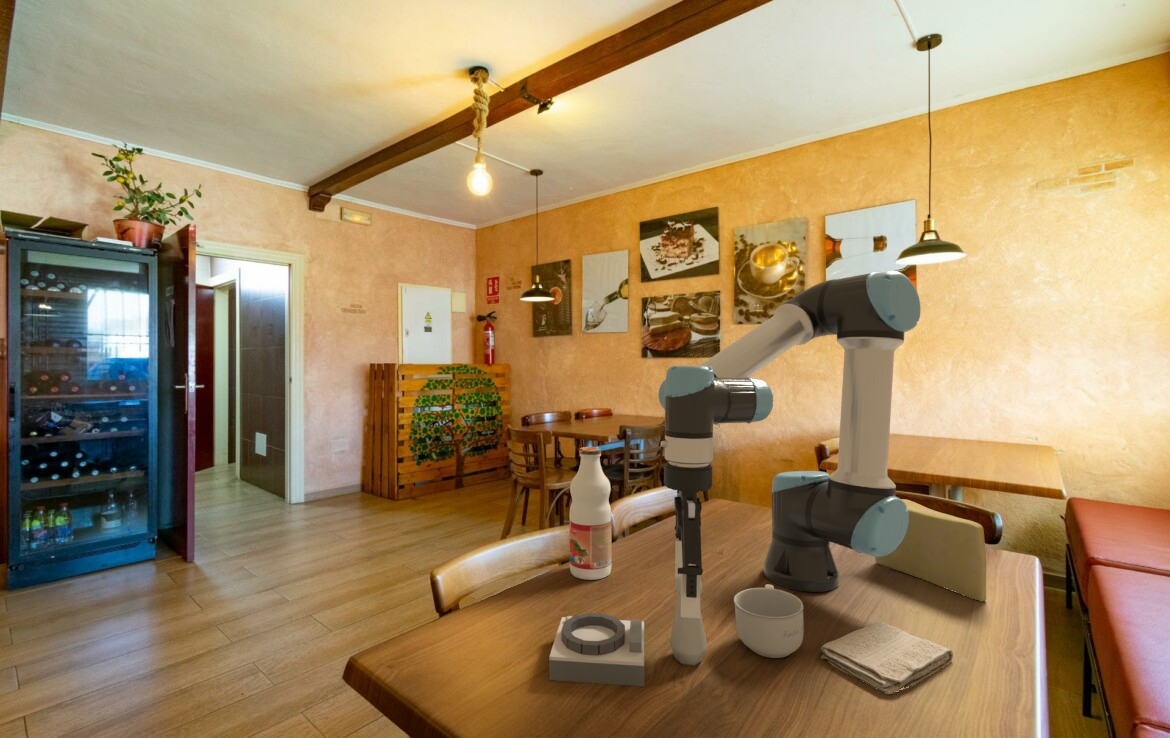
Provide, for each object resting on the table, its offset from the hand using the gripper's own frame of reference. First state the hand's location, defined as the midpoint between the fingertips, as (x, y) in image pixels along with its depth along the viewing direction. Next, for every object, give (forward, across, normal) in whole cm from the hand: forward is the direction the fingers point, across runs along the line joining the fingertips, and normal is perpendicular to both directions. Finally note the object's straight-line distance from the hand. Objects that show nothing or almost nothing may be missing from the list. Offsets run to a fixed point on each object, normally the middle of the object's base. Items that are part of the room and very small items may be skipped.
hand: (686, 596), depth 82 cm
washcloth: (+10, -3, +31) cm, 33 cm away
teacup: (+10, -6, +14) cm, 19 cm away
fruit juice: (+10, -32, -18) cm, 39 cm away
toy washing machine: (+10, +2, -14) cm, 17 cm away
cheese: (+9, -36, +56) cm, 67 cm away
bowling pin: (+10, 0, 0) cm, 10 cm away
